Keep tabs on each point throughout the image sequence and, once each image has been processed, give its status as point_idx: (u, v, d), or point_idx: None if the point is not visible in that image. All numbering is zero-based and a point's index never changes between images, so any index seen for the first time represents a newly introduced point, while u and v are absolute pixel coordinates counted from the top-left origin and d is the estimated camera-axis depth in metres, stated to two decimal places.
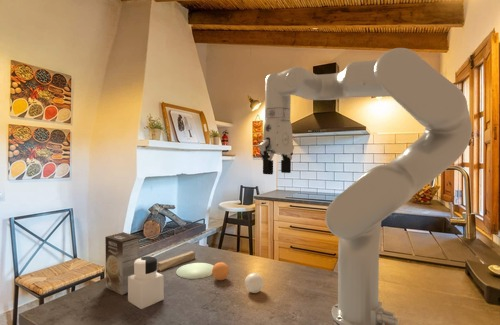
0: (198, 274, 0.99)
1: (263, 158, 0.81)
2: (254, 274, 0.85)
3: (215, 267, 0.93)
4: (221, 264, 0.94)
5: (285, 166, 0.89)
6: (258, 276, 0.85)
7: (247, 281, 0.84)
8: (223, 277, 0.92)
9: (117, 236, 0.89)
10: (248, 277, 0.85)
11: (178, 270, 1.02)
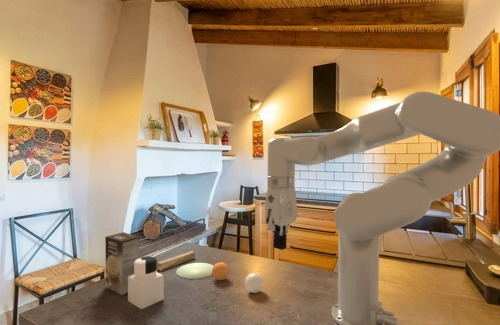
0: (198, 274, 0.99)
1: (274, 233, 0.79)
2: (254, 274, 0.85)
3: (215, 267, 0.93)
4: (221, 264, 0.94)
5: None
6: (258, 276, 0.85)
7: (247, 281, 0.84)
8: (223, 277, 0.92)
9: (117, 236, 0.89)
10: (248, 277, 0.85)
11: (178, 270, 1.02)
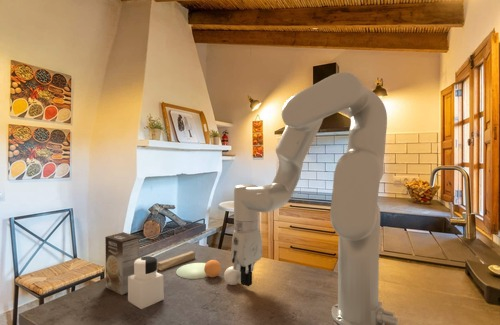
0: (198, 274, 0.99)
1: (240, 271, 0.87)
2: None
3: (204, 268, 0.97)
4: None
5: None
6: None
7: (227, 282, 0.89)
8: (213, 264, 0.95)
9: (117, 236, 0.89)
10: None
11: (178, 270, 1.02)
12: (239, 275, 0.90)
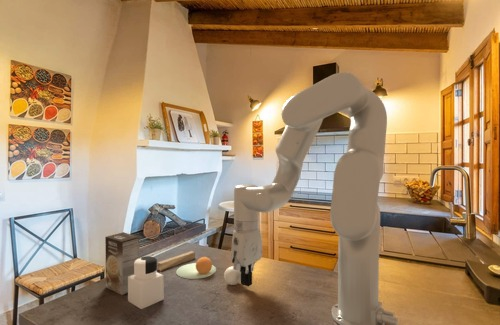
0: (198, 274, 0.99)
1: (240, 271, 0.87)
2: None
3: (199, 272, 0.98)
4: None
5: None
6: None
7: (227, 282, 0.89)
8: (198, 260, 1.00)
9: (117, 236, 0.89)
10: None
11: (178, 270, 1.02)
12: (239, 275, 0.90)
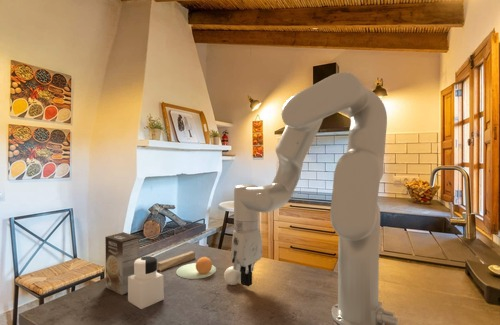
0: (198, 274, 0.99)
1: (240, 271, 0.87)
2: None
3: (199, 272, 0.98)
4: None
5: None
6: None
7: (227, 282, 0.89)
8: (198, 260, 1.00)
9: (117, 236, 0.89)
10: None
11: (178, 270, 1.02)
12: (239, 275, 0.90)
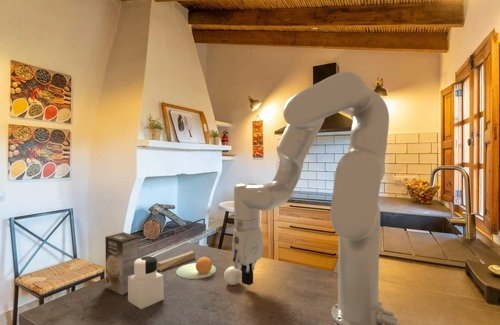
0: (198, 274, 0.99)
1: (241, 270, 0.86)
2: None
3: (199, 272, 0.98)
4: None
5: None
6: None
7: (227, 282, 0.89)
8: (198, 260, 1.00)
9: (117, 236, 0.89)
10: None
11: (178, 270, 1.02)
12: (239, 275, 0.90)
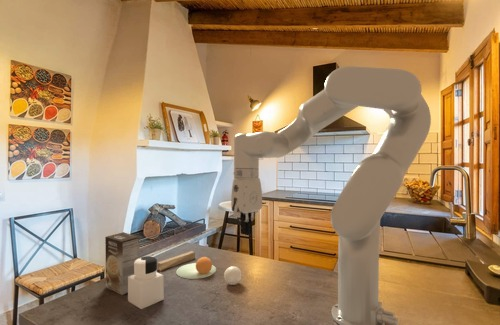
0: (198, 274, 0.99)
1: (240, 220, 0.86)
2: None
3: (199, 272, 0.98)
4: None
5: None
6: None
7: (227, 282, 0.89)
8: (198, 260, 1.00)
9: (117, 236, 0.89)
10: None
11: (178, 270, 1.02)
12: (239, 275, 0.90)
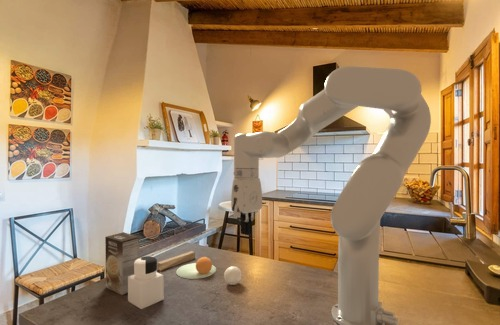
0: (198, 274, 0.99)
1: (240, 220, 0.86)
2: None
3: (199, 272, 0.98)
4: None
5: None
6: None
7: (227, 282, 0.89)
8: (198, 260, 1.00)
9: (117, 236, 0.89)
10: None
11: (178, 270, 1.02)
12: (239, 275, 0.90)
